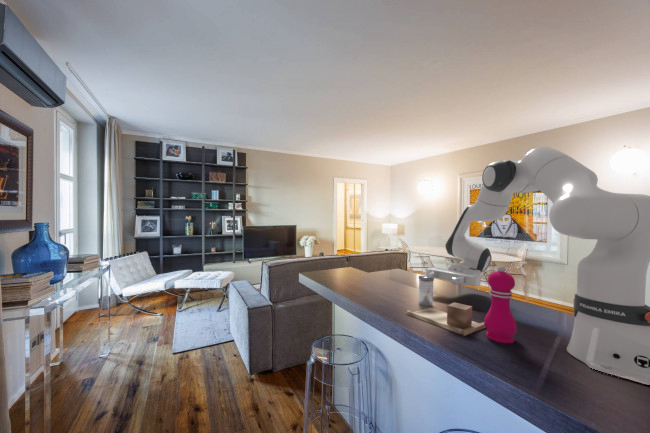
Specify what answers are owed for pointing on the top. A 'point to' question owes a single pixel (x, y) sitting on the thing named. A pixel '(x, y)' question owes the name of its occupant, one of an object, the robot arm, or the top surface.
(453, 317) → the walnut block
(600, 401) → the top surface
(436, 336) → the top surface
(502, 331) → the pepper mill
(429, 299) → the canister
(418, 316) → the board
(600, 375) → the top surface
